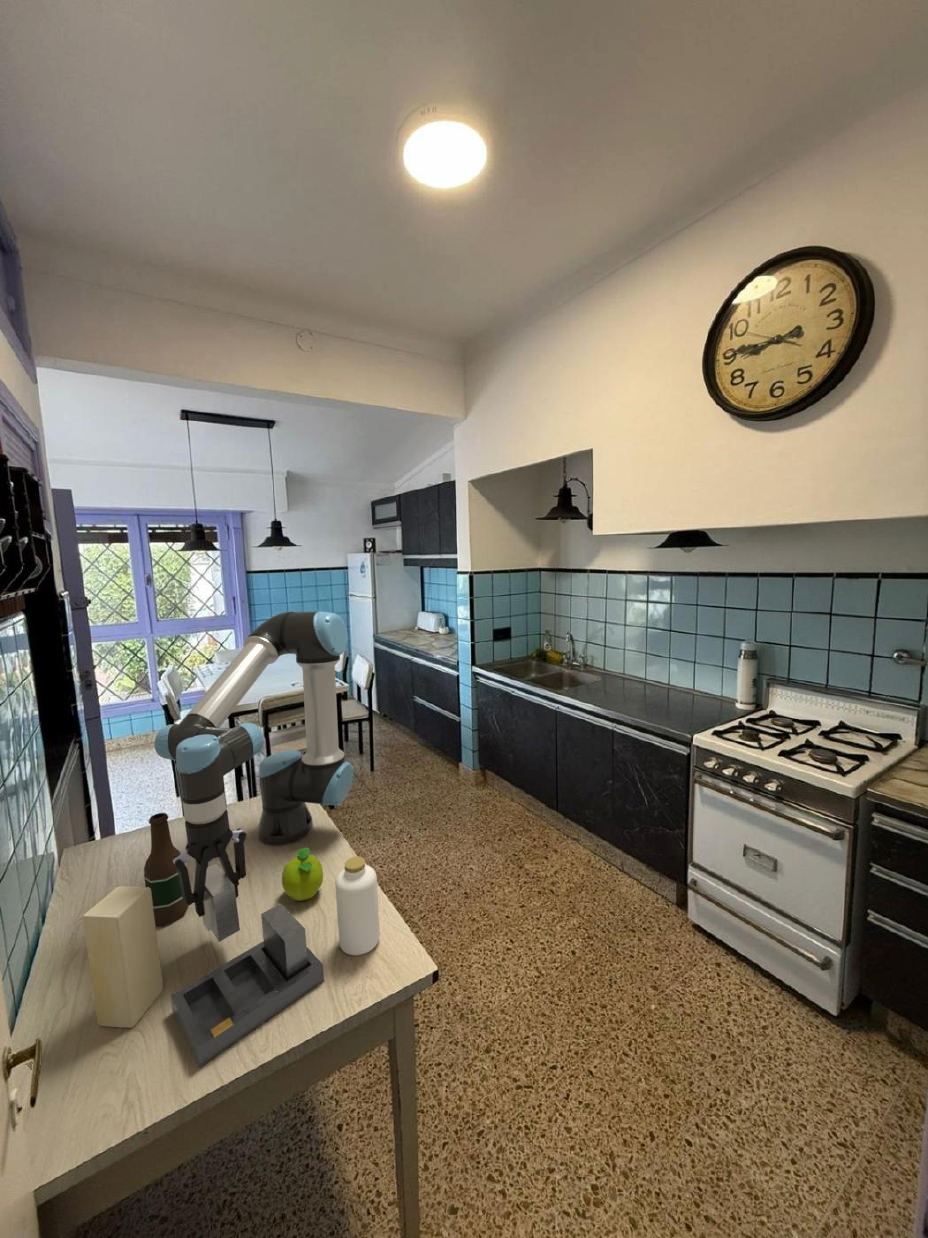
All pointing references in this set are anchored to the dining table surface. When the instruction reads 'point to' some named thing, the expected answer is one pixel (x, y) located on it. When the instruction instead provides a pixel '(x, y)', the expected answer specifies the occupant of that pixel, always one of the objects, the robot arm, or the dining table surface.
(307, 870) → the fruit
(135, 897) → the cream tall block
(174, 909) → the beer bottle
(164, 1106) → the dining table surface
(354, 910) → the potion bottle
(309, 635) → the robot arm
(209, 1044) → the rack
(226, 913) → the silver rectangular block
